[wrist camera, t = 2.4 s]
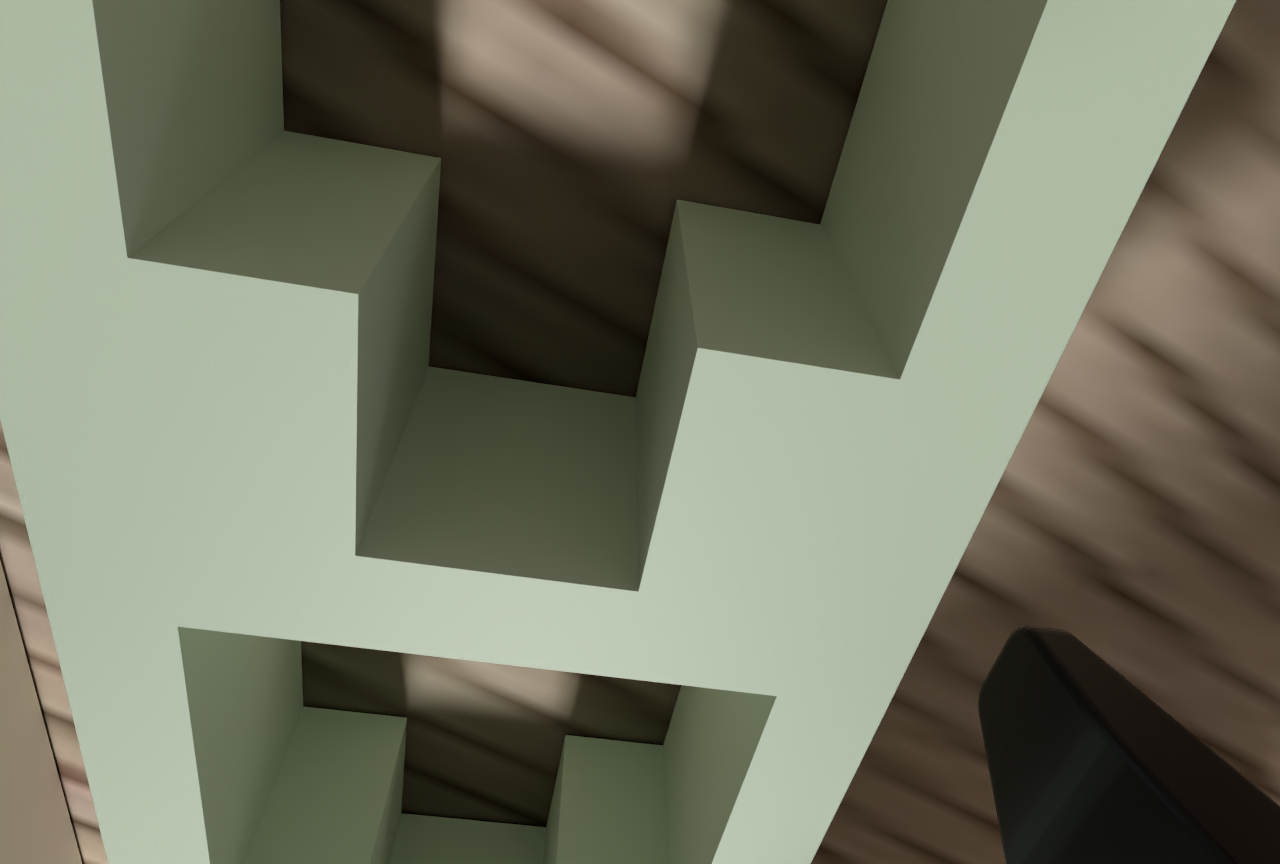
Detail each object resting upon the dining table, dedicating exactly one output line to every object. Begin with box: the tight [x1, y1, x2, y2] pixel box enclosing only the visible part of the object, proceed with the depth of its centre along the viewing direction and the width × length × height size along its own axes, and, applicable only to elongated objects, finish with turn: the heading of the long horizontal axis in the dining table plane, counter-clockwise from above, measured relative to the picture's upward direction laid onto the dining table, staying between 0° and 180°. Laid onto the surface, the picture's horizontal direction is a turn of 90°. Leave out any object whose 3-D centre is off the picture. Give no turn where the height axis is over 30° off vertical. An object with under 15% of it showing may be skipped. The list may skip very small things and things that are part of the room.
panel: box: [0, 0, 1236, 864], centre depth 8 cm, size 17×7×3 cm, turn 170°
